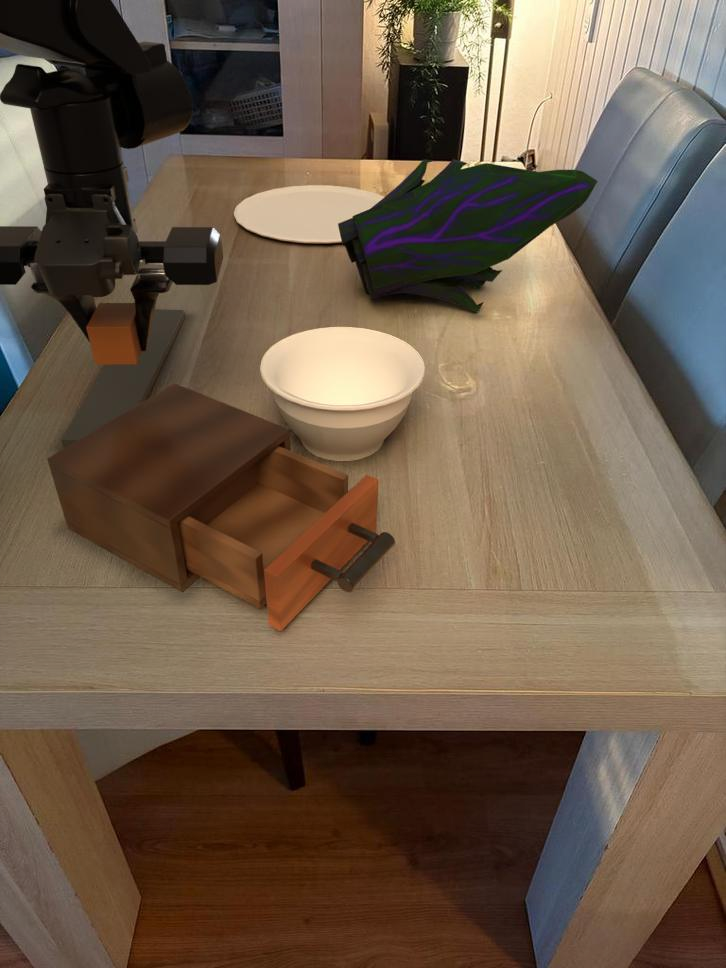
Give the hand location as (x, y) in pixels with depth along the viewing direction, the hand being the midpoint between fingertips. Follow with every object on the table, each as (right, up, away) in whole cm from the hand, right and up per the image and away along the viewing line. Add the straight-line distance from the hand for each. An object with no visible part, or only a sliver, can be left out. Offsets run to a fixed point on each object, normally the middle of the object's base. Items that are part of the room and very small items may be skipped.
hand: (121, 349), depth 65 cm
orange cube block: (0, 0, 0) cm, 0 cm away
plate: (+14, +34, +64) cm, 74 cm away
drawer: (+15, -18, -4) cm, 24 cm away
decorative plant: (+33, +15, +40) cm, 54 cm away
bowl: (+19, -7, +12) cm, 23 cm away
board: (-5, +1, +21) cm, 21 cm away
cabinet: (+5, -14, +1) cm, 15 cm away
